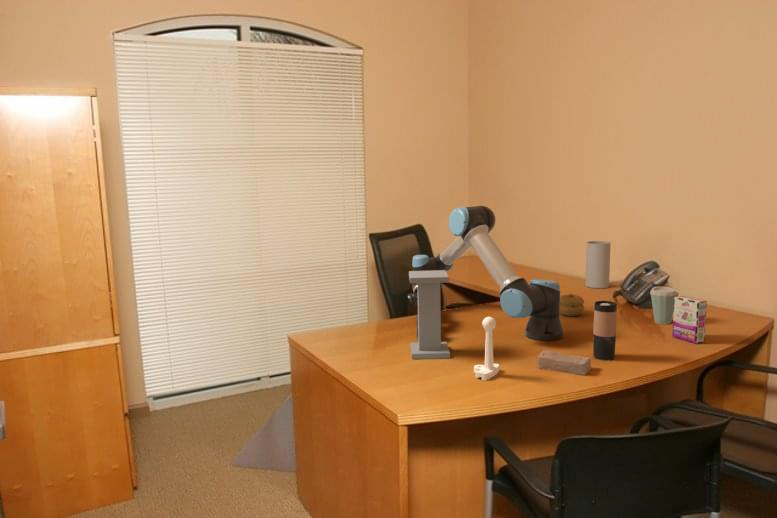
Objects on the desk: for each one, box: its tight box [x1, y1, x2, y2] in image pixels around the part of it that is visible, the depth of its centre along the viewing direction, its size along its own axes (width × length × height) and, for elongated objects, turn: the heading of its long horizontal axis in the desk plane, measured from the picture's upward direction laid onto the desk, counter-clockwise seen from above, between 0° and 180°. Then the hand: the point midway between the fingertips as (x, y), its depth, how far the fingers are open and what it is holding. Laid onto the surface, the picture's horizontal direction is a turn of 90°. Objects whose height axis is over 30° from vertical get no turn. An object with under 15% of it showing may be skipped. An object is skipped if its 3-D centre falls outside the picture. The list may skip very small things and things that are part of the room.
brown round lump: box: [559, 293, 585, 317], centre depth 271 cm, size 12×12×10 cm
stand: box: [408, 270, 451, 360], centre depth 221 cm, size 16×14×30 cm
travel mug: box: [592, 300, 618, 361], centre depth 211 cm, size 8×8×20 cm
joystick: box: [473, 316, 500, 381], centre depth 197 cm, size 11×8×20 cm
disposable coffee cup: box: [649, 285, 678, 325], centre depth 254 cm, size 11×11×15 cm
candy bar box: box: [671, 295, 708, 345], centre depth 229 cm, size 11×5×16 cm, turn 23°
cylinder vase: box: [585, 240, 612, 290], centre depth 329 cm, size 12×12×25 cm
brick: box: [536, 350, 592, 376], centre depth 202 cm, size 17×8×5 cm, turn 58°
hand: (425, 304), depth 246 cm, fingers closed on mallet, 4 cm apart
